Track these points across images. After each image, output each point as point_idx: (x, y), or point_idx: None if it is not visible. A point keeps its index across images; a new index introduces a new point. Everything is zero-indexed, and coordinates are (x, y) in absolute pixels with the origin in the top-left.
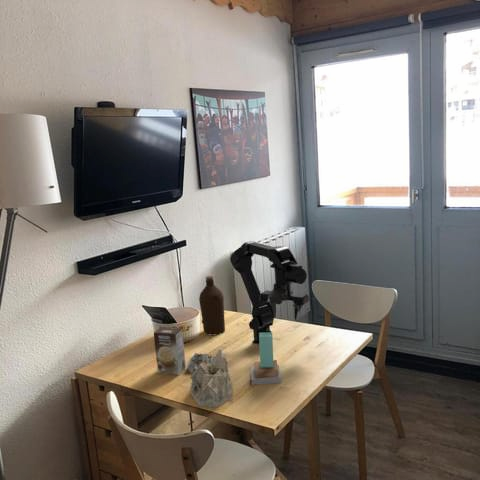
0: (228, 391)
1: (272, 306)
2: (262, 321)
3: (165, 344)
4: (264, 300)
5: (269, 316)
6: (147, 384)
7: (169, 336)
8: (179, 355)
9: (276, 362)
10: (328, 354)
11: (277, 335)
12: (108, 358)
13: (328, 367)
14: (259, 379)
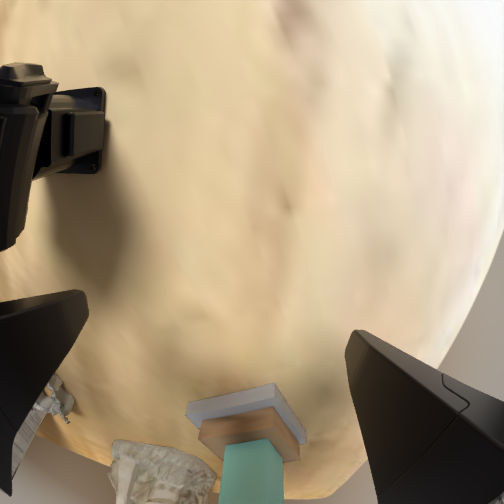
0: (209, 485)
1: (13, 414)
2: (11, 244)
3: None
4: None
5: (4, 170)
6: (41, 430)
7: None
8: (25, 434)
9: (279, 436)
10: (450, 215)
11: (110, 29)
12: None
13: (445, 327)
14: None
